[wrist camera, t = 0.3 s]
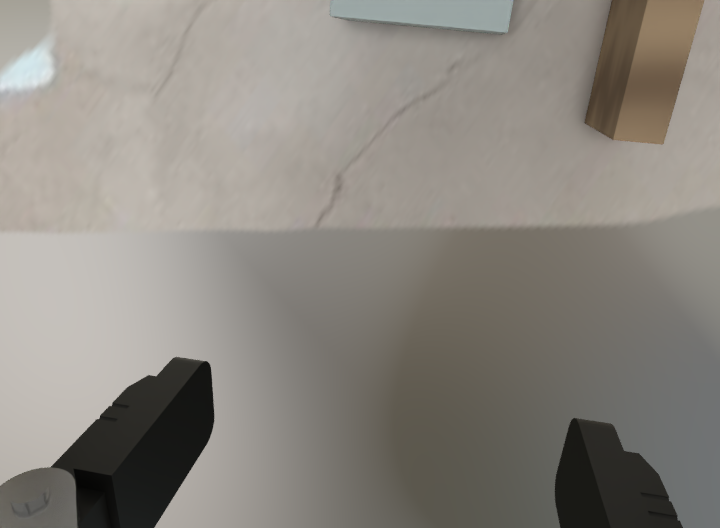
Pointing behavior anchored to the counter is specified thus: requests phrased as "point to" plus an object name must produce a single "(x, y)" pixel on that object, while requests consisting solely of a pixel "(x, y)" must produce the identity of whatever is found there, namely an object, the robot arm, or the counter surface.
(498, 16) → the grey block
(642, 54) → the walnut board
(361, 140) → the counter surface
